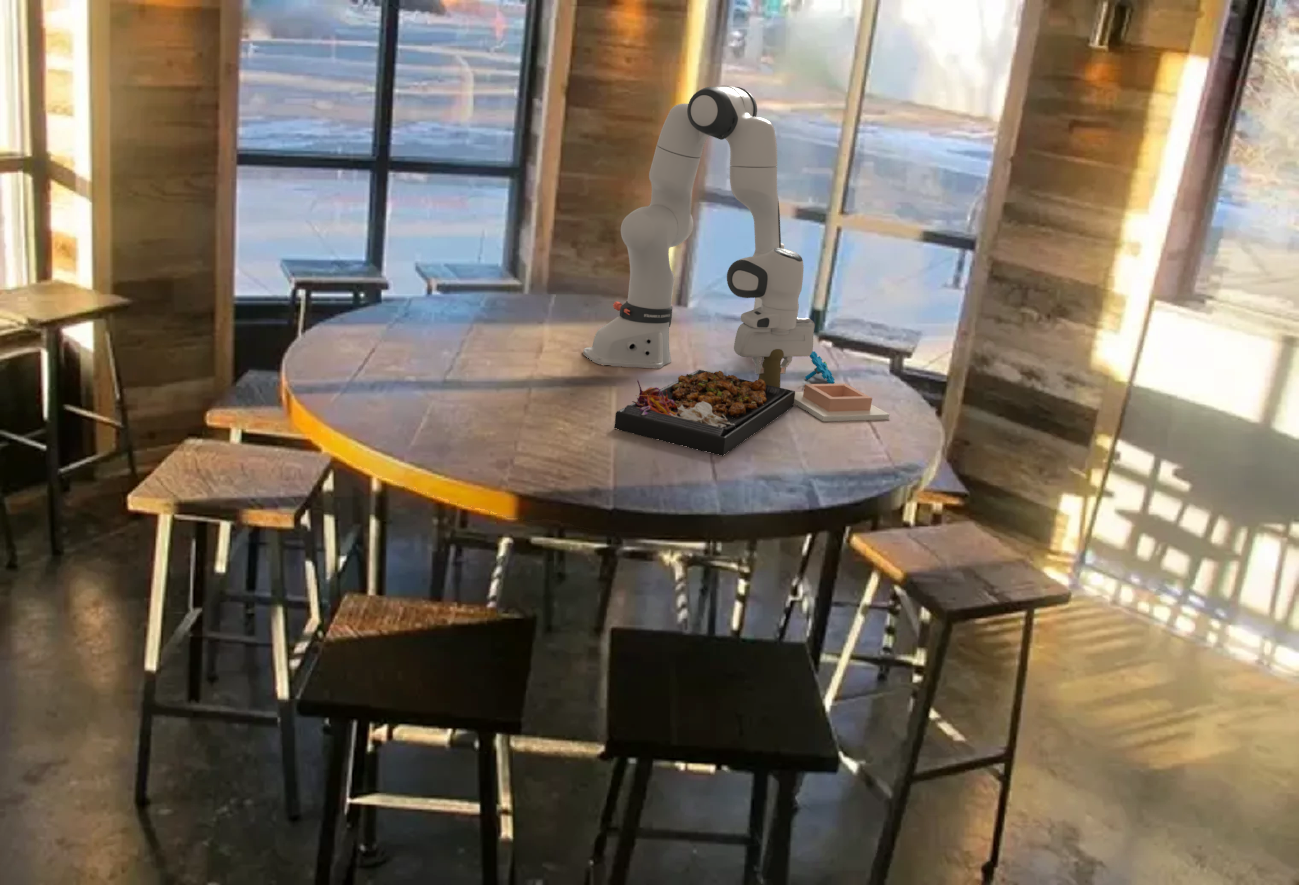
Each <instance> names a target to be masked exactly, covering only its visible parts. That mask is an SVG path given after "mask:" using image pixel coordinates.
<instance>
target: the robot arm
mask: <svg viewBox="0 0 1299 885" xmlns="http://www.w3.org/2000/svg"><path fill="white" fill-rule="evenodd" d="M757 114H758V105H757V101H756V99H755V97H754V96H753V94H751V93H750V92H749V91H748V90H746V89H745V88H742V87H740V86H731V85H717V86H707V87H704V88H701V89H699V90H697V91H696V92H695V93H694V94H693V95H692V96H691V98H690V99H689V100H688V103H678V104H676V105H674V106H673V107H672V108H670V110H669V112H668V114H667V116H666V118H665V120H664V123H663V125H662V128H661V130H660V134H659V136H658V140H657V143H656V146H655V150H654V155H653V158H652V161H651V165H650V169H649V173H648V179H649V181H650V184H651V197H650V199H651V200H650V202H649V203H650V204H649V205H646V206H641V207H638V208H636V209H634V210H632V211H631V212H630V213H628V214H627V215H626V216H625V217H624V219H623V220H622V222H621V226H620V236H621V240H622V241H623V243H624V245H625V246H626V248H627V254H628V260H629V262H628V263H629V282H628V293H627V294H628V295H627V301H626V300H625V301H626V302H624V303H622V302H620V301H614V303H613V305H612V306H613V308H614V310H616V311H617V312H618V311H619V315H618V316H617V317H615V318H614V319H612V320H611V321H610V322H608V323H607V324H605V325H604V326H602V327H600V328H599V329H598V330H597V331H596V333H595V336H594V338H593V341H592V345H591V347H590V346H588V347H585V348H583V350H582V351H583V352H582V354H583V353H584V354H583V356H584V355H585V356H586V357H587V358H586V357H585V356H584V357H585V358H586V359H588V358H589V359H590V360H589V359H588V360H589V361H591V360H592V361H591V362H593V361H594V362H593V363H595V364H598V365H600V364H603V365H602V366H604V365H612V366H611V367H621V366H622V368H623V367H624V368H647V369H662V368H663V366H665V365H668V364H670V363H671V362H672V357H671V350H670V327H671V324H672V319H673V318H672V317H673V306H672V300H673V293H674V284H675V273H674V272H673V271H672V269H671V263H670V255H669V253H670V251H669V250H670V248H674V247H677V246H680V245H681V244H682V243H684V242H685V241H686V240H687V239H689V237H690V236H691V235H692V232H693V229H694V218H693V215H692V214H691V213H692V198H693V197H692V195H693V189H694V184H695V180H696V176H697V171H698V169H699V165H700V162H701V158H702V154H703V150H704V148H705V144H706V141H707V139H708V138H709V137H712V138H715V139H718V140H726V141H727V143H728V145H729V149H730V150H729V151H730V156H729V157H730V158H729V183H730V189H731V193H732V194H733V196H734V197H735V199H736V200H737V201H738V202H739V203H741V204H742V205H744V206H745V207H746V208H747V209H748V211H750V213H751V216H752V218H753V223H754V224H753V227H754V228H753V229H754V253H753V255H752V256H746V257H743V258H739V259H737V260H735V261H734V262H732V263H731V265H730V266H729V268H728V270H727V272H726V284H727V286H728V289H729V290H730V291H731V293H732V294H733V295H735V296H737V297H739V298H744V299H755V298H760V299H761V300H762V305H761V307H759V308H757V309H754V308H753V309H751V310H748V311H745V312H742V314H741V316H740V321H741V322H742V323H741V324H740V325H739V326H738V327H737V330H736V333H735V339H734V345H733V351H734V352H735V354H736V355H738V356H740V358H741V357H742V358H752V361H753V363H754V366H755V370H754V373H755V374H757V375H759V374H764V369H765V368H764V367H762V363H761V362H763V358H764V357H769V356H770V354H771V352H772V351H773V350H775V349H781V350H782V351H783V352H784V356H783V359H782V361H781V371H780V375H786V372H787V368H788V366H789V365H790V364H791V363H792V360H793V357H810V355H811V353H812V351H813V350H814V333H815V332H814V331H815V326H816V324H815V322H814V321H813V319H811V318H809V317H805V318H803V317H801V318H800V317H798V314H799V307H800V306H799V297H800V294H801V292H802V288H803V280H804V267H805V266H804V259H803V257H802V256H801V255H800V254H799V253H797V252H795V251H794V250H792V249H788V248H785V247H784V248H781V243H782V237H781V214H780V203H779V196H778V147H777V146H778V144H777V137H776V130H775V127H774V125H773V123H772V122H771V121H769V120H768V119H766V118H764V117H761V116H759V117H758V115H757ZM813 352H814V351H813Z"/></svg>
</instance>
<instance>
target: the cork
mask: <svg viewBox="0 0 1299 885" xmlns="http://www.w3.org/2000/svg"><path fill="white" fill-rule="evenodd" d="M783 356H784V352H783V351H782V350H781V349H775V350H773V351H772V352H771V354H770V356H769V357H763V359H762V363H761V366H762V367H764V368H765V369H764V374H758V378H757V380H759V379H762V380H764V382H765V384H766V385H770V386H774V387H779V388H781V374H780V371H781V364H782V361H783V360H784V359H783Z"/></svg>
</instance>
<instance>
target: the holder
mask: <svg viewBox="0 0 1299 885" xmlns="http://www.w3.org/2000/svg"><path fill="white" fill-rule="evenodd" d="M872 402H873V397H871V396H870V395H868V394H866V393H864V392H862V391H860V390H858V389H857V388H855V387H853V386H851V385H849V384H848V383H834V384H829V383H805V384H804V387H803V391H797V392H796V391H795V398H794V405H796V406H797V405H798V406H797V407H798V408H800V409H802V410H803V411H805V410H806V411H805V412H807V411H808V412H809V414H810V415H812V416H813V417H815V418H816V419H818V420H820V421H821V422H842V421H843V422H845V421H847V422H848V421H851V422H852V421H875V420H879V421H880V420H889V419H890V415H891V414H890V413H889V412H886V411H884V410H883V409H881V408H879V407H877V406H875V405H874V404H872ZM808 412H807V413H808Z"/></svg>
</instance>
